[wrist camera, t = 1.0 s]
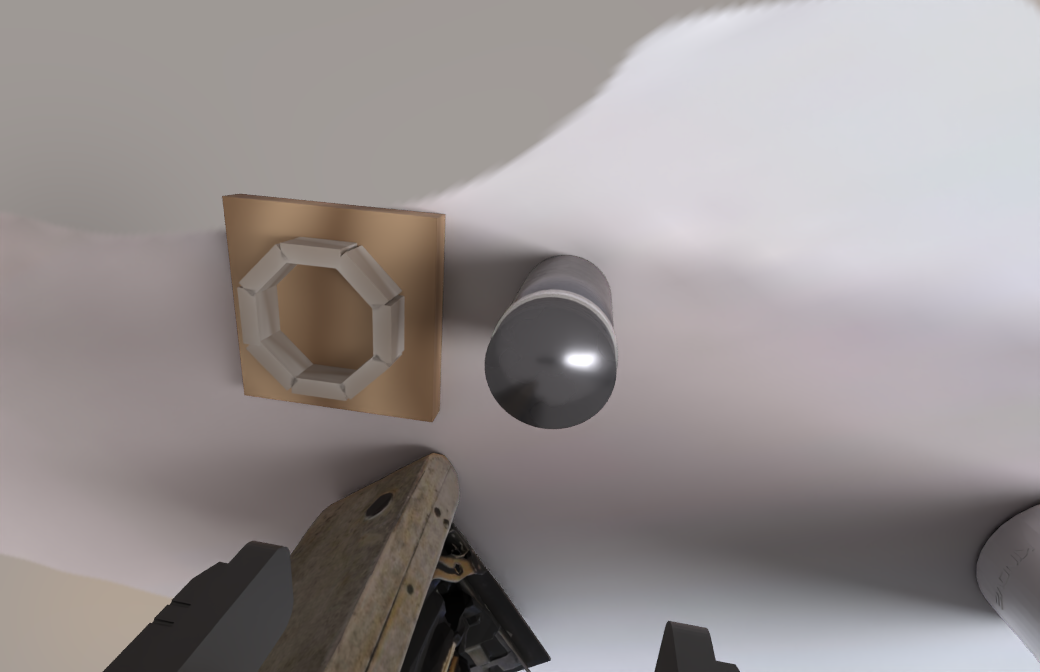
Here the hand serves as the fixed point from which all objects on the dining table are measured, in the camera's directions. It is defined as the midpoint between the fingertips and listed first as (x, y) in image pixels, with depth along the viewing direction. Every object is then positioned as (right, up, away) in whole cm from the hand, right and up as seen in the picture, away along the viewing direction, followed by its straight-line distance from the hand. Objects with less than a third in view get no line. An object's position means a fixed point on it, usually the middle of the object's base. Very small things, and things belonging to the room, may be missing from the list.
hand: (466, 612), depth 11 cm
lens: (+4, +8, +18) cm, 20 cm away
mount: (-9, +7, +20) cm, 24 cm away
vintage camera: (-4, -9, +26) cm, 28 cm away
